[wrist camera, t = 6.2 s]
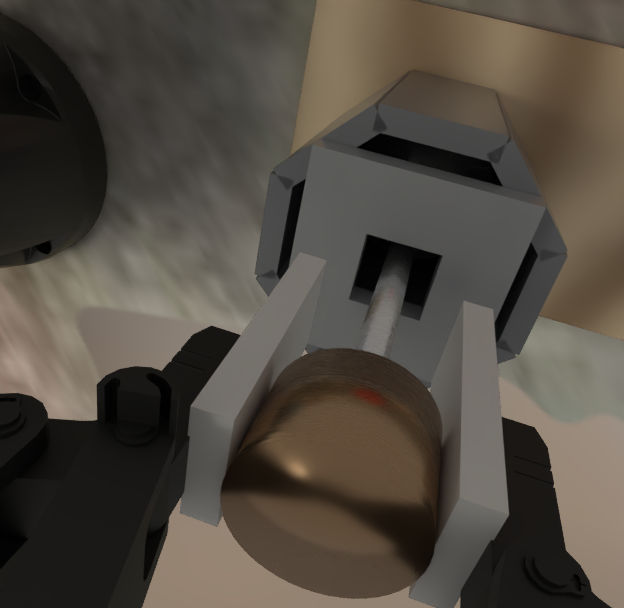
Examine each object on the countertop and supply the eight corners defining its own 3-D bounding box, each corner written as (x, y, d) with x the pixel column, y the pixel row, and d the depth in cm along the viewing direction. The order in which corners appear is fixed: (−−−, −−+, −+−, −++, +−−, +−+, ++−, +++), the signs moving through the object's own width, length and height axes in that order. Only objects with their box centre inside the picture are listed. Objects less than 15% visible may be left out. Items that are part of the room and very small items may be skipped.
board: (282, 231, 32) (275, 238, 31) (327, -20, 25) (320, -21, 24) (662, 341, 29) (669, 353, 28) (825, 94, 22) (842, 98, 21)
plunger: (338, 233, 28) (135, 571, 11) (369, 101, 24) (146, 297, 7) (464, 269, 27) (454, 695, 10) (515, 138, 23) (628, 450, 7)
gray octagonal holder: (307, 271, 31) (228, 396, 21) (353, 54, 25) (275, 83, 15) (468, 320, 30) (467, 477, 20) (557, 104, 24) (622, 171, 14)
